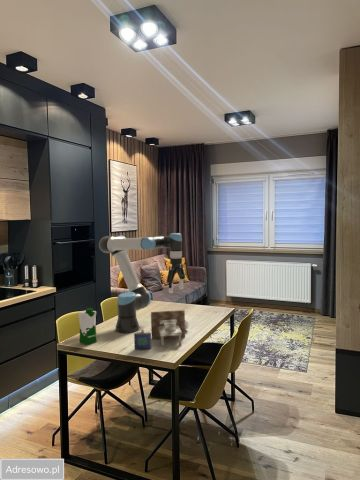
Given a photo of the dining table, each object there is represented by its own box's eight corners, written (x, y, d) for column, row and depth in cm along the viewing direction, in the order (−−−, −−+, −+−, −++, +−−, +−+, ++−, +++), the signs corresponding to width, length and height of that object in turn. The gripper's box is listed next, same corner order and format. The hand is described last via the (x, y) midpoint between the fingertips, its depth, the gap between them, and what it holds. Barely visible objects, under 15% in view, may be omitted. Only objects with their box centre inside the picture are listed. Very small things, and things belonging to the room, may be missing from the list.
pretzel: (191, 328, 237) (190, 314, 236) (186, 334, 225) (186, 320, 225) (174, 327, 240) (174, 314, 239) (168, 333, 228) (168, 319, 228)
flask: (151, 347, 203) (150, 328, 202) (151, 349, 200) (150, 330, 199) (134, 348, 202) (133, 329, 201) (134, 350, 199) (133, 331, 198)
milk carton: (86, 345, 208) (85, 311, 207) (77, 342, 214) (75, 308, 212) (99, 341, 215) (97, 307, 213) (89, 338, 220) (88, 305, 219)
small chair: (153, 347, 203) (153, 319, 202) (151, 338, 219) (150, 311, 218) (189, 344, 206) (188, 316, 205) (184, 336, 222) (184, 310, 221)
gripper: (171, 260, 218) (171, 295, 219) (190, 256, 240) (190, 288, 241) (160, 259, 221) (160, 294, 223) (180, 255, 243) (180, 287, 245)
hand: (176, 291), depth 232 cm, fingers open, 13 cm apart
